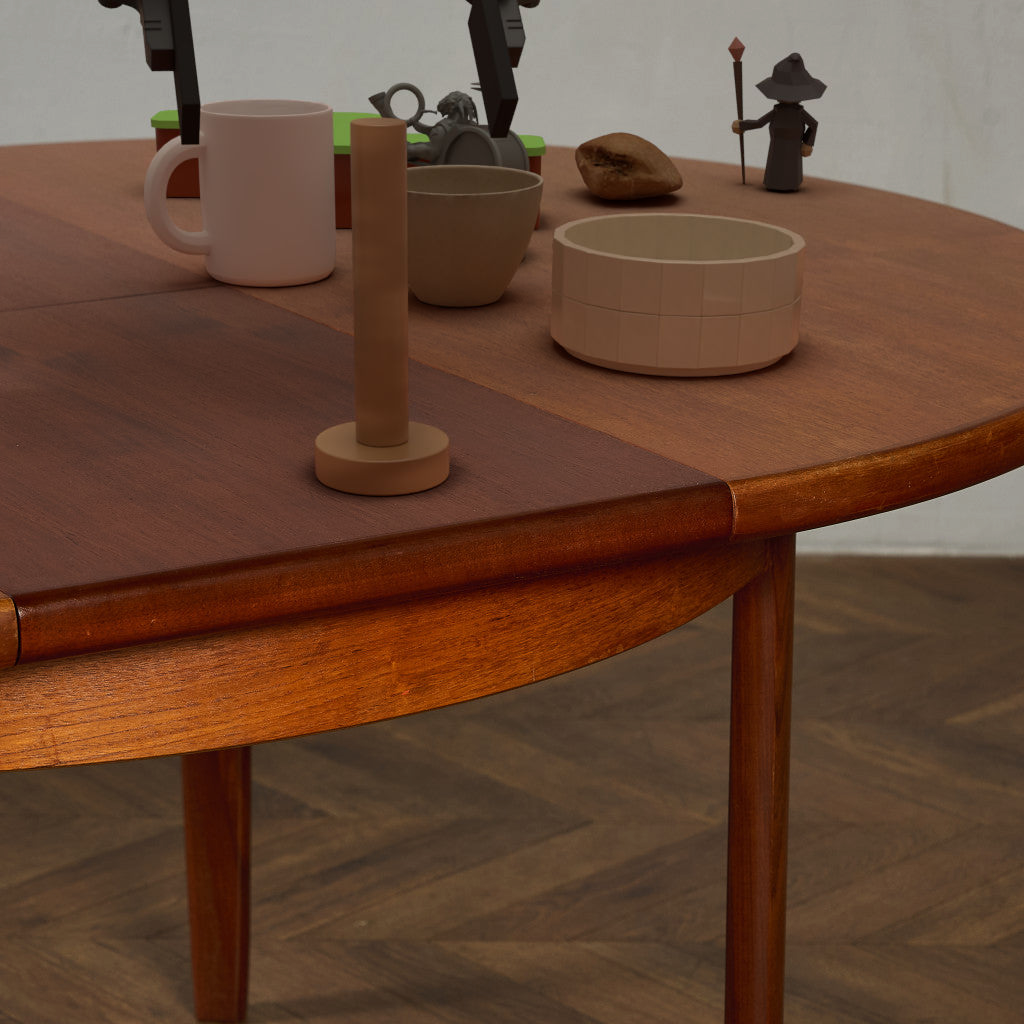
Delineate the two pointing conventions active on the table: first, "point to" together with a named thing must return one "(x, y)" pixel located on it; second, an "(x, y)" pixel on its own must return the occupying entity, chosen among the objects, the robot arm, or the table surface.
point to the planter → (187, 172)
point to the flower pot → (468, 230)
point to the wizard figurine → (781, 118)
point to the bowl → (676, 293)
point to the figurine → (455, 133)
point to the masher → (380, 333)
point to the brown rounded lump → (626, 167)
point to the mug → (255, 192)
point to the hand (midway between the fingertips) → (351, 123)
